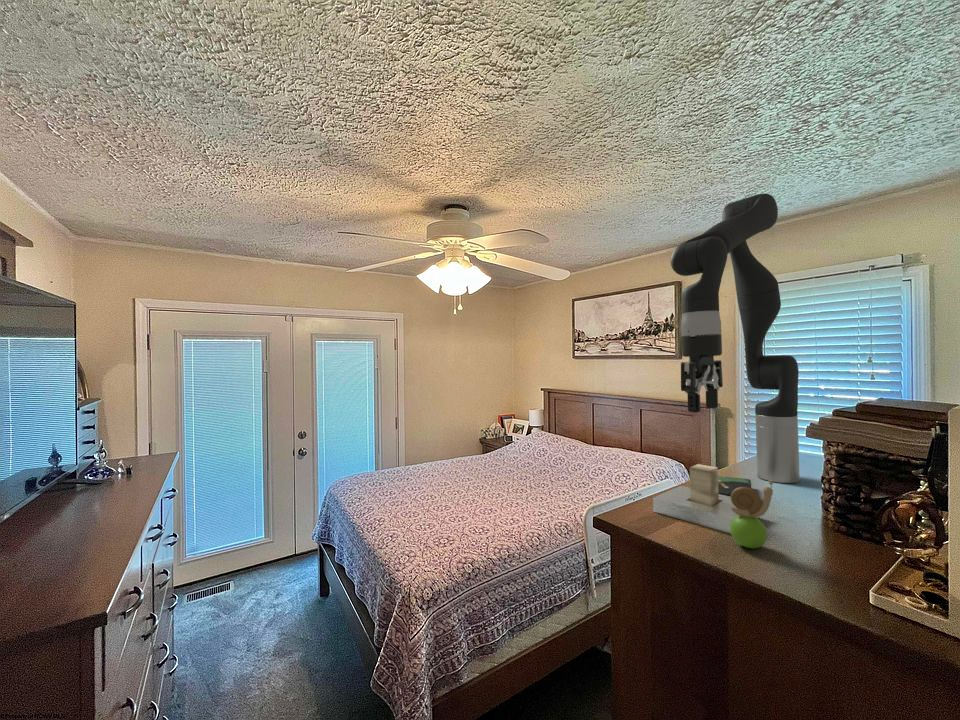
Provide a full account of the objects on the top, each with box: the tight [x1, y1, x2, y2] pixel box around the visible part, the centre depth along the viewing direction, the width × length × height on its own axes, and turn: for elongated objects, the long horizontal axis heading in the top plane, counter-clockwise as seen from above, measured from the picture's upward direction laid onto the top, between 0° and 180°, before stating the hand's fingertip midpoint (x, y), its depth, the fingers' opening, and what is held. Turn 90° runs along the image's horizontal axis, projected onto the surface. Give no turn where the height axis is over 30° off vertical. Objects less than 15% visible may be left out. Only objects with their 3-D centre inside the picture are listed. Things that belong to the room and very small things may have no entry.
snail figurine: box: [730, 480, 774, 549], centre depth 70 cm, size 5×6×12 cm
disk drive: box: [718, 475, 752, 497], centre depth 98 cm, size 10×3×15 cm
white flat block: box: [652, 485, 760, 535], centre depth 85 cm, size 13×16×3 cm
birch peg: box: [689, 463, 719, 507], centre depth 85 cm, size 4×4×10 cm
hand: (703, 409), depth 85 cm, fingers open, 8 cm apart
